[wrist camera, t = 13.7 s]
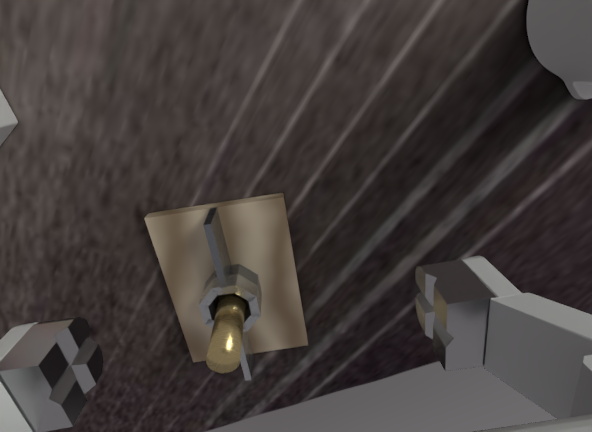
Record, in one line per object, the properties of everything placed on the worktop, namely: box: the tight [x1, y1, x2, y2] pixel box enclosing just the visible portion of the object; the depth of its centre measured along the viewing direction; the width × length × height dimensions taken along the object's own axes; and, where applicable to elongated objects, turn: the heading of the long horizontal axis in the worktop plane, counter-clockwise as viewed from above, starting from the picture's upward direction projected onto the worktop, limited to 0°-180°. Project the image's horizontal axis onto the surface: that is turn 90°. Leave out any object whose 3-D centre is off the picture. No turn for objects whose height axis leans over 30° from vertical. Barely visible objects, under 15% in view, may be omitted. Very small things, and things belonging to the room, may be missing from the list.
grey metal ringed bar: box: [199, 207, 262, 381], centre depth 44 cm, size 7×22×4 cm, turn 8°
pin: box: [206, 293, 246, 373], centre depth 41 cm, size 3×3×12 cm
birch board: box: [144, 193, 308, 362], centre depth 47 cm, size 16×22×2 cm
